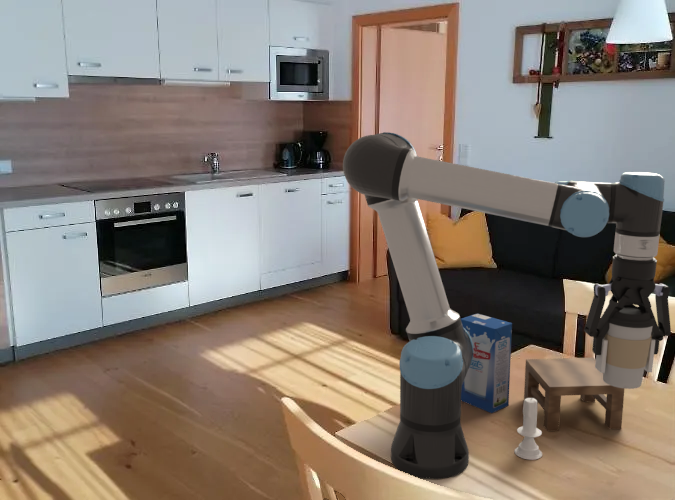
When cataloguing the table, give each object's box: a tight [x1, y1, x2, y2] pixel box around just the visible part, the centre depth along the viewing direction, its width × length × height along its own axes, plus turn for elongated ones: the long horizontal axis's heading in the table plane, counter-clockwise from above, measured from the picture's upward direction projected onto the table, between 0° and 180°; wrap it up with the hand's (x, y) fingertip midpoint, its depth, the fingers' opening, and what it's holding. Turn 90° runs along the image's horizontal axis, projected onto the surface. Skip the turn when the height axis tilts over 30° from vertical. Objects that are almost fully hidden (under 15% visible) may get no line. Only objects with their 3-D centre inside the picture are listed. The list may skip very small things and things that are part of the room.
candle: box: [514, 398, 543, 461], centre depth 132 cm, size 5×5×12 cm
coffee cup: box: [603, 304, 655, 390], centre depth 129 cm, size 9×9×15 cm
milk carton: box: [460, 313, 513, 414], centre depth 155 cm, size 10×6×20 cm, turn 40°
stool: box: [523, 357, 625, 432], centre depth 150 cm, size 16×16×10 cm
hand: (623, 369), depth 130 cm, fingers closed on coffee cup, 9 cm apart
